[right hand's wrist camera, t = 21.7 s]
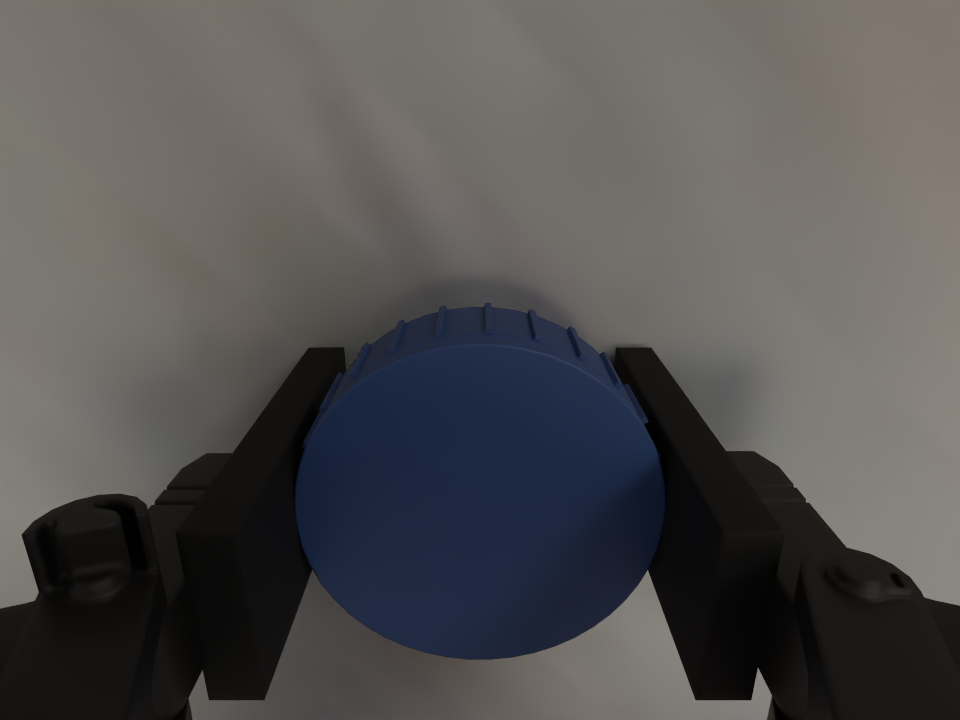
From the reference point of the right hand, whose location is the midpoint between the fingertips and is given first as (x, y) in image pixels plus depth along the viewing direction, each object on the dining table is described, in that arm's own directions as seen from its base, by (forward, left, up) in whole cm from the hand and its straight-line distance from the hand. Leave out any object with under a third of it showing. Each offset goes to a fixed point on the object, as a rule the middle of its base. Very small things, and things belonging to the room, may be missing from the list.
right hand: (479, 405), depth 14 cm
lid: (0, 0, +4) cm, 4 cm away
